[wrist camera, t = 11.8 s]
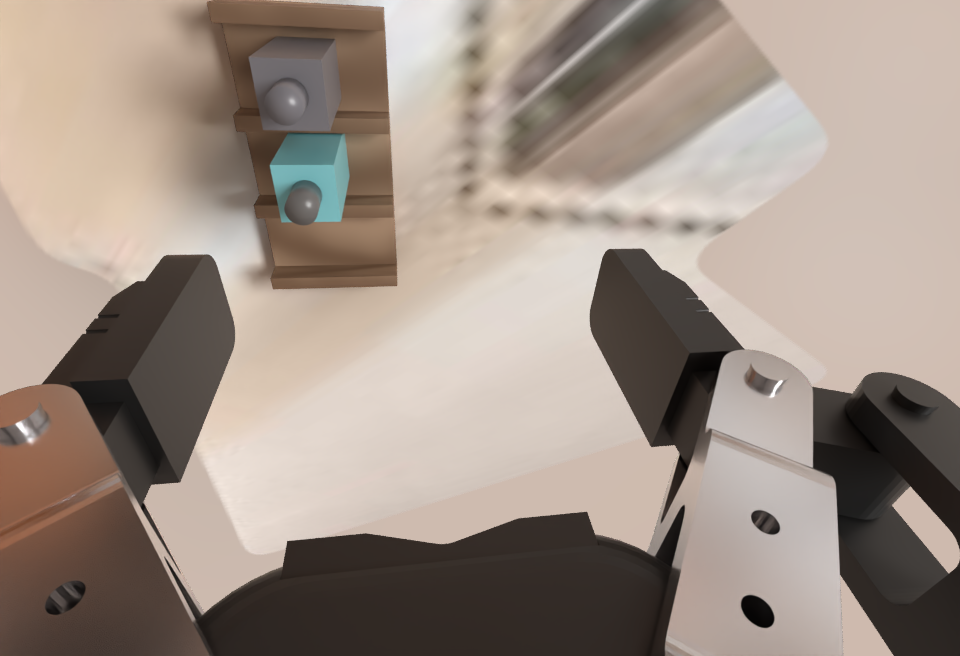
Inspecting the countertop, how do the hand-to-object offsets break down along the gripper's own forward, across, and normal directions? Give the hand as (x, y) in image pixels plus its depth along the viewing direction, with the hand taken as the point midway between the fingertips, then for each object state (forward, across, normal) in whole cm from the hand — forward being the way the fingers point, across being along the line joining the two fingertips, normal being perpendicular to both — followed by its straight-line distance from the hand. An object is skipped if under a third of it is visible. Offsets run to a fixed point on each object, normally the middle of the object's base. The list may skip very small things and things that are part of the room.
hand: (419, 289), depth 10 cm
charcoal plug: (+29, +6, +1) cm, 30 cm away
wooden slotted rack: (+30, +6, +7) cm, 31 cm away
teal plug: (+29, +6, +6) cm, 30 cm away
